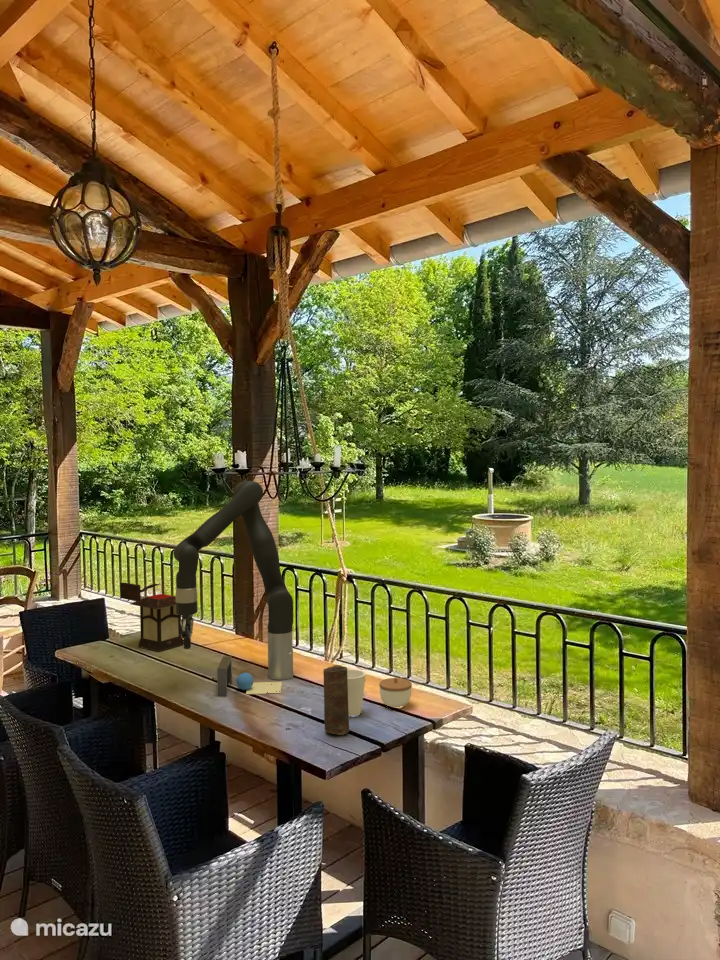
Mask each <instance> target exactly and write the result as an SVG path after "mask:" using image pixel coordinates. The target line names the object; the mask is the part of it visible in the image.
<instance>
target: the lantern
mask: <svg viewBox="0 0 720 960" xmlns="http://www.w3.org/2000/svg"><path fill="white" fill-rule="evenodd" d="M158 586H161V589H162V591H164V589H163V585H162V584H161V582H160V583H159V582H158V583H151V584H149V585H147V586H144V587H143V588H142V589H141V584H138V583H137V584H136V583H131V582H120V583H119V587H120V588H119V589H120V593H119V595H120V599H125V600H129V601H133V602H130V605H132V606H138V607H139V615H140V616H139V617H140V619H139V620H140V640H139V641H138V646H139V648H140V647H143V648H142V649H144V648H147V649H146V650H148V649H151V650H150V651H153V650H155V651H154V652H157V651H158V653H161V652H163V651H168V650H171V649H174V647H175V648H177V647H182V646H184V639H183V638H182V635H181V631H180V626H181V624H180V620H181V619H182V615H178V614H176V595H172V594H171V595H170V594H165V593H164V592H162V593H159V594H158V593H157V592H155V593H154V595H151V596H150V595H149V596H146V597H143V598H141V596H142V595H141V594H142V593H144V592H145V591H147V590H149V589H152V588H154V587H156V589H155V591H157V589H158ZM181 645H182V646H181ZM138 646H137V647H138ZM160 651H161V652H160Z"/></svg>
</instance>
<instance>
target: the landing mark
mask: <svg viewBox="0 0 720 960" xmlns="http://www.w3.org/2000/svg"><path fill="white" fill-rule="evenodd" d="M271 684H272V685H271ZM281 686H283V682H282V681H271V682H270V681H265V682H263V681H262V682H261V681H259V682H256V681H255V682H253V685H252V687H251V688H250V689H248V690H245V691H246V692H245V695H267V694H266V693H267V692H268V693H280V694H281V692H282V687H281ZM276 691H277V692H276ZM279 691H280V692H279Z"/></svg>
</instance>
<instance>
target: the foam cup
mask: <svg viewBox="0 0 720 960" xmlns="http://www.w3.org/2000/svg"><path fill="white" fill-rule="evenodd" d="M347 681H348V711H349V715H357V714H360V713H361V714H362V709H363V702H364V694H365V693H364V692H365V691H364V690H365V683H366V672H365V671H363V670H359V669H349V668H348V669H347Z"/></svg>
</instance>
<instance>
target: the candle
mask: <svg viewBox="0 0 720 960" xmlns="http://www.w3.org/2000/svg"><path fill="white" fill-rule="evenodd" d="M347 670H348V668H347V666H343V665H340V664H334V665H332V666H329V667H326V668H324V669H323V703H324V704H323V705H324V706H323V708H324V709H323V710H324V711H323V712H324V714H323V716H324V717H323V718H324V730H325V731H326V733H329V734H333V735H338V736H345V735H344V734H347V733H348V732H350V717H349V711H348V681H347ZM348 734H349V733H348ZM348 734H347V735H348Z"/></svg>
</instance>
